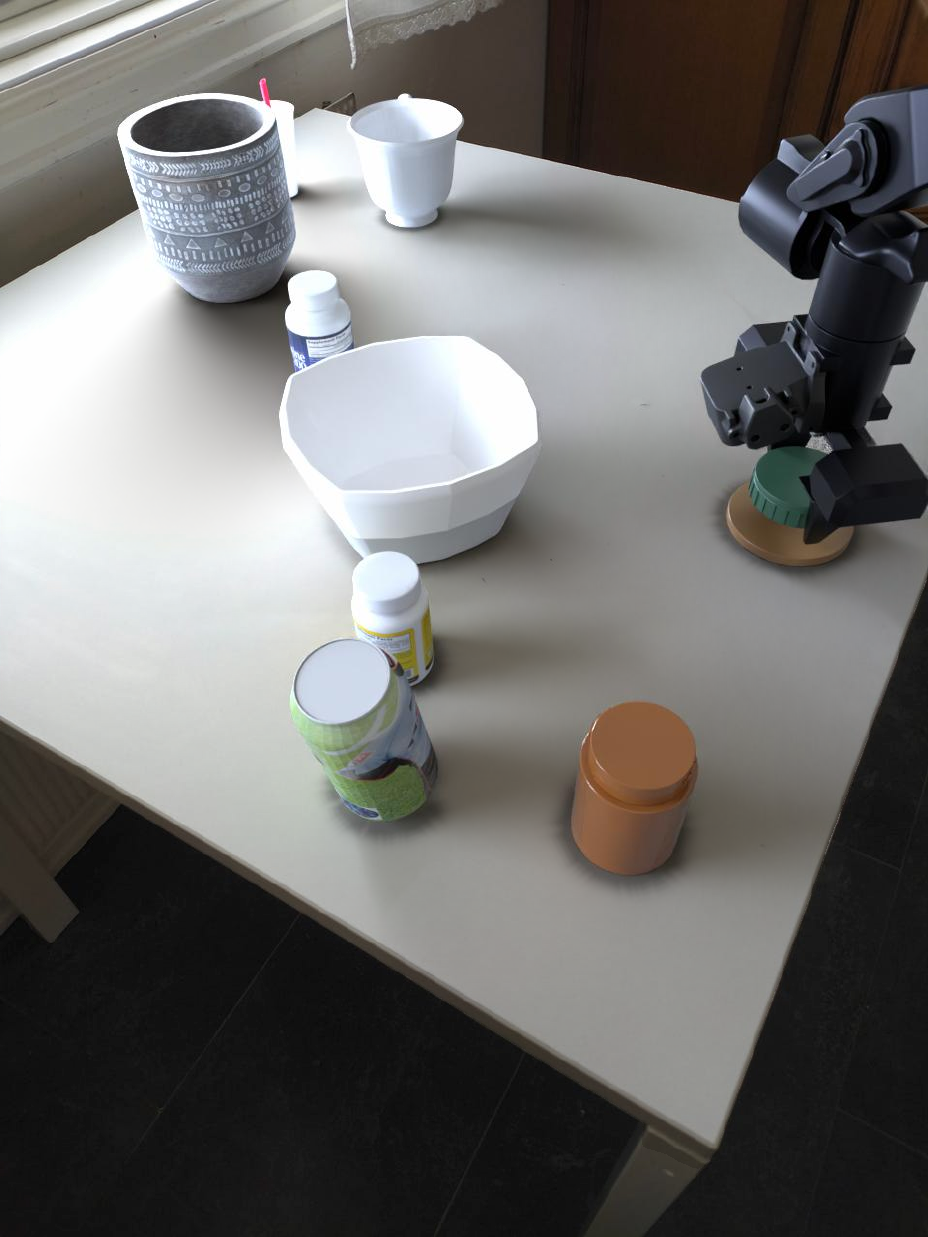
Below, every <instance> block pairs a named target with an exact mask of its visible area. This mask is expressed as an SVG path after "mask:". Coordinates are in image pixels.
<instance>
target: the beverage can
mask: <svg viewBox="0 0 928 1237" xmlns="http://www.w3.org/2000/svg"><path fill="white" fill-rule="evenodd" d="M290 690H291V691H290V694H289V695H290V696H289V709H290V710H289V711H290V715H291V719H292V720H293V723H294V725H295V727H296V728H297V730H298V732H299V733H300V735H301V737H302V738H303V740H304V741H305V743H306V745H307V746H308V748H309V749H310V751H311V753H312V754H313V756H314V757H315V759H316V760H317V762H318V763H319V765H320V767H321V768H322V770H323V772H324V773H325V775H326V776H327V778H328V780H329V781H330V782H331V784H332V786H333V788H334V789H335V790H336V792H337V794H338V795H339V797H340V798H341V800H342V802H343V803H344V805H345V806H346V807H347V808H348V809H349V810H350V811H351V812H352V813H354V814H355V815H357V816H359V818H360V817H361V818H363V819H365V820H368V821H373V822H391V821H396V820H399V819H402V818H405V817H407V816H409V815H411V814H413V813H414V812H415V811H418V809H419V808H420V807H422V806H423V805H424V804H425V802H426V801H427V800H428V799H429V797H430V796H431V794H432V793H433V791H434V789H435V786H436V784H437V781H438V777H439V776H438V775H439V761H438V757H437V753H436V750H435V748H434V745H433V743H432V739H431V738H430V735H429V732H428V730H427V726H426V724H425V722H424V719H423V716H422V714H421V711H420V709H419V706H418V703H417V700H416V698H415V695H414V693H413V690H412V686H410V685H409V682H408V679H407V677H406V674H405V672H404V670H403V668H402V666H401V664H400V663H399V662H398V661H397V659H396V658H395V657H394V656H393V655H391V654H390V653H389V652H388V651H386V650H384V649H383V648H381V647H379V646H376V645H374V644H372V643H370V642H368V641H366V640H363V639H358V638H357V637H341V638H336V639H332V640H330V641H327V642H325V643H323V644H320V645H319V646H317V647H316V648H314V649H313V650H312V651H310V652H309V653H308V654H307V655H306V656H305V657H304V658H303V660H302V661H301V662H300V664H299V665H298V667H297V669H296V671H295V674H294V676H293V681H292V687H291V689H290Z"/></svg>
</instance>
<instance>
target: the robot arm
mask: <svg viewBox="0 0 928 1237" xmlns="http://www.w3.org/2000/svg"><path fill="white" fill-rule="evenodd" d="M843 122H844V123H845V124H844V127H843V128H842V129H841V130H840V131H839V132H838V134H836V136H835V137H834V138H833V139H832V140H830V142H829V143H828V144H827V145H826V146H825V145H824V143H822V141H820V139H818V138H817V137H815V136H813V135H812V134H810V133H808V134H803V135H798V136H792V137H787V138H786V137H785V138H783V139H782V140H781V141H780V145H779V150H778V153H777V157H776V158H774V159H773V160H772V161H770V162H769V163H768V164H766V165H765V166H764V167H763V168H762V169H761V170H760V171H759V172H758V173H757V174H756V175H755V176H754V178H753V179H752V181H751V183H750V184H749V185H748V187H747V189H746V191H745V193H744V194H743V195H741V198H740V200H739V204H738V213H737V217H738V224H739V228H740V229H741V231H742V233H743V234H744V235H745V236H746V237H747V238H748V239H749V240H750V241H752V242H753V243H754V244H755V245H756V246H758V247H759V248H760V249H761V250H762V251H764V253H766V254H767V255H768V256H769V257H770V258H772V259H773V260H774V261H775V262H777V263H778V265H780V266H781V267H782V268H783V269H785V270H786V271H787V272H788V273H789V274H790V275H791V276H793V277H794V278H795V279H799V280H801V281H813V280H814V281H815V280H817V283H816V286H815V290H814V293H813V295H812V300H811V303H810V307H809V310H808V312H807V313H802V314H794V315H793V317H792V320H788V321H775V322H764V323H755V324H752V325H751V326H750V327H749V328H748V329H746V330H745V331H743V333H741V334H740V335H739V336H738V338H737V340H736V346H735V350H734V354H733V356H731V357H728V358H726V359H724V360H723V359H722V360H720V361H718V362H716V363H715V362H714V363H713V364H710V365H708V366H707V367H705V368H704V369H703V370H702V371H701V372H700V374H699V382H700V386H701V390H702V394H703V400H704V403H705V409H706V414H707V417H708V418H709V419H710V421H711V422H712V425H713V426H714V428H715V430H716V432H717V434H718V437H719V439H720V441H721V443H722V444H724V445H725V446H726V447H733V448H734V447H740V446H742V445H746V447H747V448H748V449H750V450H754V451H757V450H760V449H763V448H765V447H766V453H767V452H769V451H771V450H774V449H777V448H781V447H788V446H800V447H808V445H809V442H810V441H811V439H812V438H821V437H823V438H824V439H825V441H826V442H827V444H828V445H829V447H830V448H831V450H832V451H830V452H829V453H827V455H826V456H825V457H823V458H822V459H820V460H819V461H818V462H816V463H815V464H814V467H813V470H812V473H811V475H806V476H798V479H799V481H800V483H801V484H802V486H803V488H804V490H805V491H806V493H807V495H808V497H809V498H810V504H809V509H808V513H807V518H806V522H805V527H804V534H803V542H804V544H806V545H809V544H817V543H820V542H821V541H822V540H824V539H825V538H826V537H828V536H829V535H830V534H832V533H833V532H834V531H836V530H837V529H838V528H840V527H849V526H854V527H857V526H865V525H876V524H884V523H891V522H893V523H894V522H901V521H910V520H918V519H921V518H922V517H923V515H924V513H925V512H926V510H927V508H928V476H927V474H926V473H925V471H924V469H922V467H921V466H920V464H919V462H917V460H916V459H915V457H914V456H913V454H912V453H911V452H910V451H909V449H908V448H906V446H905V445H904V444H903V443H902V442H901V443H899V442H898V443H890V444H880V445H878V444H877V442H876V441H875V439H874V437H873V436H872V435H871V433H870V432H869V431H868V429H867V427H866V426H867V423H869V422H878V421H888V419H889V417H890V415H891V411H892V409H893V404H891V402H890V401H889V399H887V397H886V396H885V394H884V391H885V388H886V385H887V382H888V380H889V378H890V374H891V372H892V369H893V367H894V366H901V365H903V366H904V365H911V363H912V360H913V358H914V356H915V353H916V350H917V348H916V347H914V345H913V344H912V343H911V341H910V340H909V339H908V338H907V336H906V334H907V331H908V329H909V326H910V324H911V321H912V318H913V316H914V313H915V311H916V308H917V307H918V306H917V305H918V303H919V300H920V298H921V295H922V293H923V291H924V287H925V285H926V283H928V224H926V223H924V222H923V221H921V220H920V219H919V218H917V217H916V216H914V215H913V214H912V213H910V212H908V211H907V210H912V209H917V208H921V207H926V206H928V83H925V84H920V85H919V84H918V85H914V86H910V87H908V86H907V87H904V88H898V89H892V90H887V91H882V92H876V93H871V94H867V95H865V96H863V97H861V98H860V99H858V100H857V101H855V103H853V104H852V105H851V107H850V108H849V109H848V110H847V112H846V113H845V115H844V117H843Z"/></svg>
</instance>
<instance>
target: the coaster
mask: <svg viewBox="0 0 928 1237" xmlns="http://www.w3.org/2000/svg"><path fill="white" fill-rule="evenodd" d="M750 481H751V480H750ZM750 481H748V482H746V483H743V484H742V485H741V486H739V487H738V488H737V489H736V490H735V491H734V492H733V494H732V495H731V496H730V499H729V500H728V503H727V504H728V505H727V508H726V512H725V513H726V514H725V519H726V524H727V528H728V530H729V531H730V533H731V535H732V537H733V538H734V539H735V540H736V541H737V542H738V543H739V545H741V546H742V547H743V548H744V549H746V550H747V551H748V552H750V553H751V554H753V555H755V556H757V557H758V558H760V559H763V560H765V561H769V562H771V563H774V564H778V565H784V566H789V567H813V566H818V565H822V564H826V563H828V562H830V561H833V560H834V559H836V558H837V557H839V556H840V555H841V554H843V553H844V552H845V550H846V549H847V548H848V546H849V544H850V542H851V539H852V537H853V535H854V528H855V526H849V527H840V528H838V529H837V530H836V531H834V532H833V533H832V534H830V535H829V536H828V537H826V538H825V539H824V540H822V541H821V542H820V543H817V544H809V545H806V544H804V542H803V534H804V529H801V528H794V527H789V526H785V525H782V524H779V523H777V522H775V521H773V520H771V519H769V518H767V517H766V516H765V515H763V514H762V513H760V511H759V510H758V509H757V508H756V507H755V506H754V505H753V502H752V500H751V498H750V497H749V495H750V493H749V489H748V488H749V484H750Z"/></svg>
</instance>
